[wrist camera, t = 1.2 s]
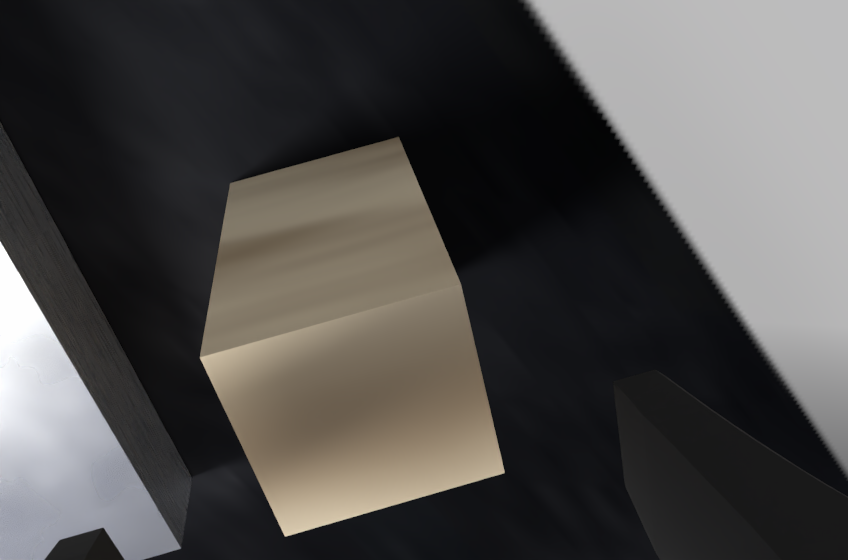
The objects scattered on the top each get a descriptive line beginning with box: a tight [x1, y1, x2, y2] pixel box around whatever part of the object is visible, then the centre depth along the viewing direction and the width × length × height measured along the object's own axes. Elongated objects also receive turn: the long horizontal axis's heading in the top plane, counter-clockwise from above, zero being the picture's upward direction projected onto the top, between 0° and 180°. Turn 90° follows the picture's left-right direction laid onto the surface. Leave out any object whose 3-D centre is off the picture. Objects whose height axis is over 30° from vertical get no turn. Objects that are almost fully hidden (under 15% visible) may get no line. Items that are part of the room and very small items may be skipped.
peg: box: [200, 137, 505, 537], centre depth 15 cm, size 4×4×7 cm
